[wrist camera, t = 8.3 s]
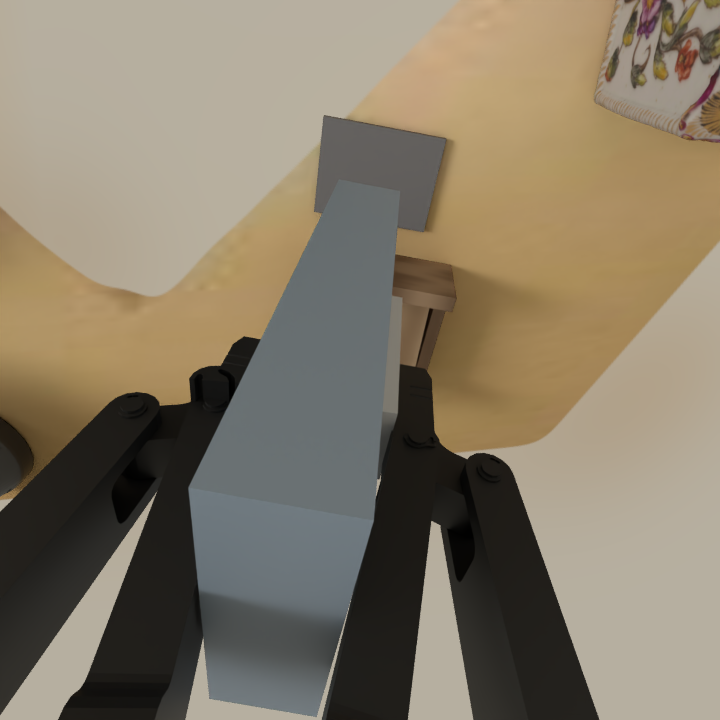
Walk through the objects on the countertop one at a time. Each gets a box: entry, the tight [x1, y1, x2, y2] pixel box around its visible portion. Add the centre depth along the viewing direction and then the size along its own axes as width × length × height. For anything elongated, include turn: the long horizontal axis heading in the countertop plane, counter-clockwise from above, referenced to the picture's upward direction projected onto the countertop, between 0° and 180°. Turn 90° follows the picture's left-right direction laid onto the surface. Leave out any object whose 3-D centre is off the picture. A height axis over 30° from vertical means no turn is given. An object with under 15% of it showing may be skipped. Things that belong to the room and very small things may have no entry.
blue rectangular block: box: [189, 180, 400, 717], centre depth 15 cm, size 3×8×16 cm, turn 171°
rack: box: [392, 255, 456, 371], centre depth 40 cm, size 11×12×8 cm
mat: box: [314, 115, 446, 232], centre depth 36 cm, size 9×7×1 cm
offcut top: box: [400, 303, 429, 367], centre depth 40 cm, size 4×8×2 cm, turn 173°
